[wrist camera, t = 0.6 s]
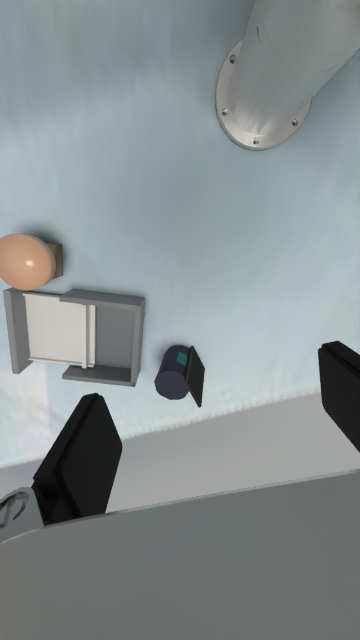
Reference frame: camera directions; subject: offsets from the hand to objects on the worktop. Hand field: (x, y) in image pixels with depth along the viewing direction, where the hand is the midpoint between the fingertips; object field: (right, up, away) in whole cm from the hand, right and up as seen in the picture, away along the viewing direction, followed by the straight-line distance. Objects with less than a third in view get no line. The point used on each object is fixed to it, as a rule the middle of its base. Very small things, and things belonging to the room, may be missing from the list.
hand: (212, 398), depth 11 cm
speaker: (-1, -4, +37) cm, 37 cm away
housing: (-15, +1, +35) cm, 38 cm away
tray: (-22, +2, +34) cm, 41 cm away
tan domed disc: (-23, +12, +26) cm, 37 cm away
